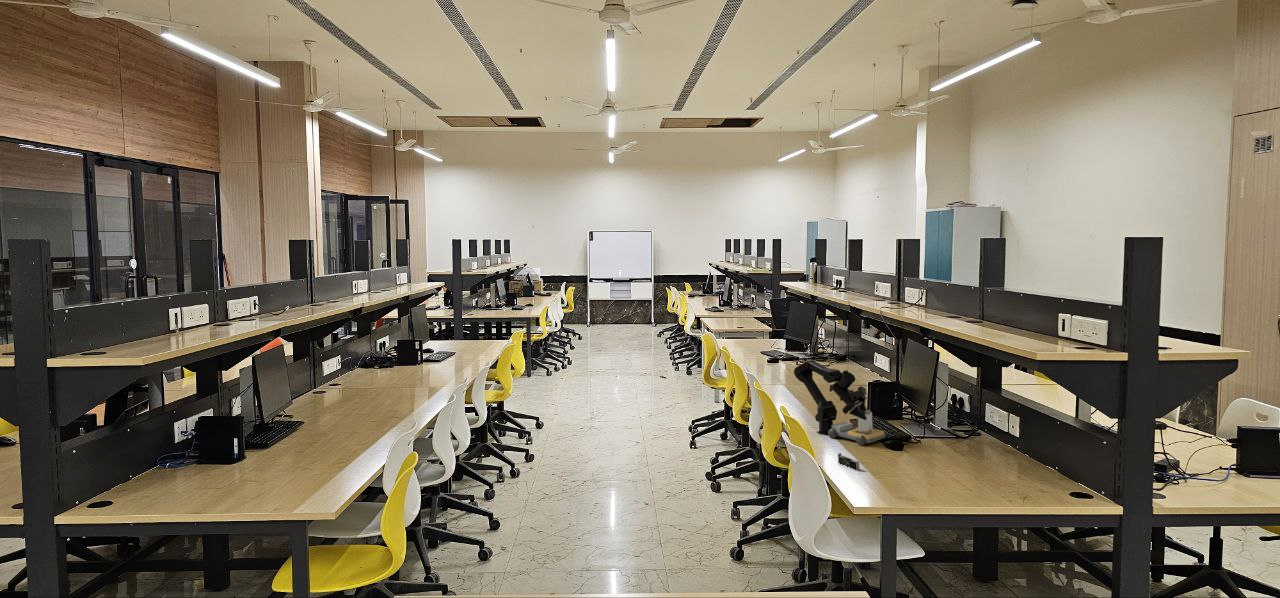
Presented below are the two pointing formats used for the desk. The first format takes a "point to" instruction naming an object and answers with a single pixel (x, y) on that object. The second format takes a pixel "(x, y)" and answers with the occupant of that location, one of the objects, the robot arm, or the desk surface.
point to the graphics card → (848, 462)
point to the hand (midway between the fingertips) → (867, 418)
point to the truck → (855, 433)
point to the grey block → (865, 422)
